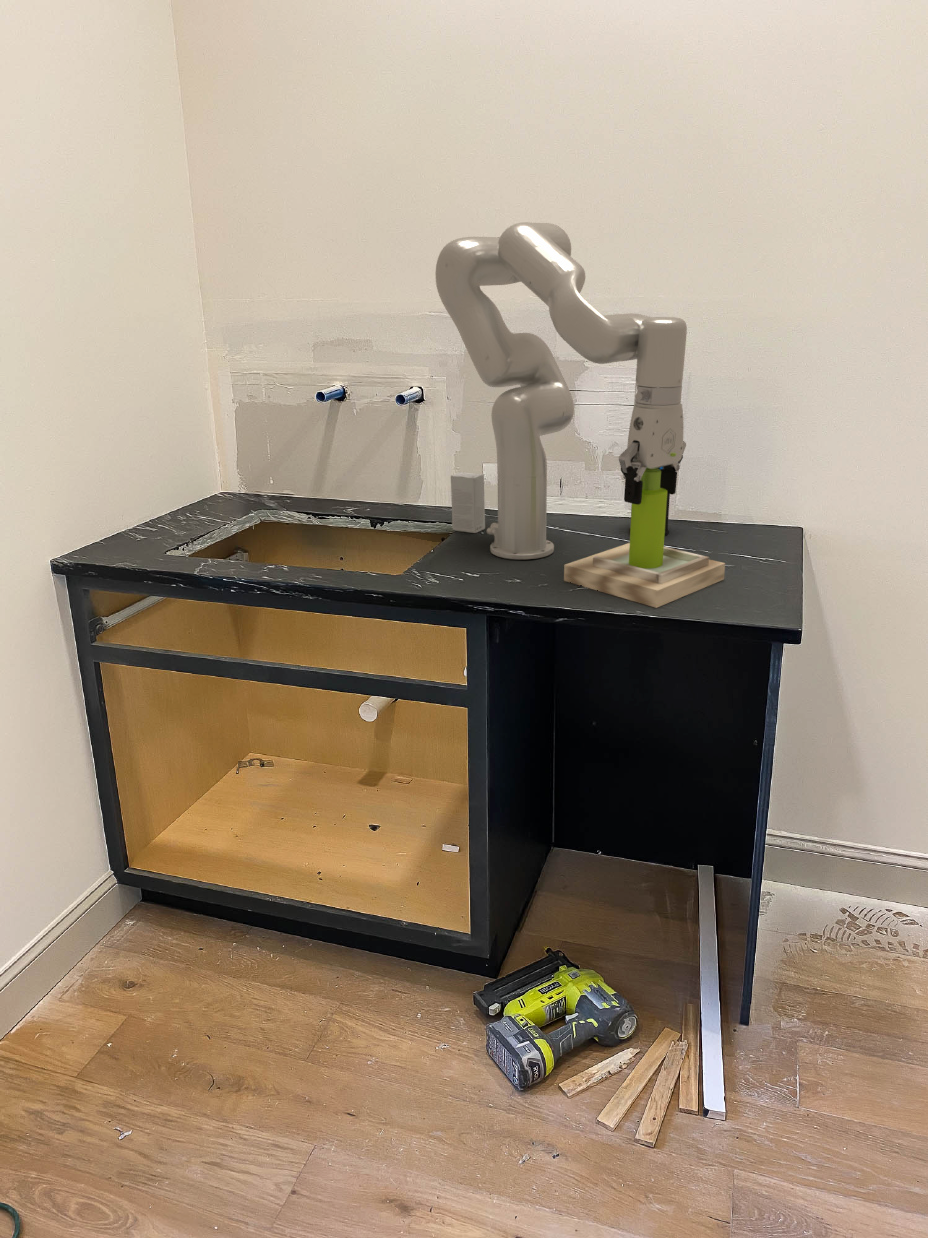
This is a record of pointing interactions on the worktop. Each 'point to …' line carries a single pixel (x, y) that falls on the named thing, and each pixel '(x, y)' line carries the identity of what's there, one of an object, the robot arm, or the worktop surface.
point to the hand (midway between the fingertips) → (649, 497)
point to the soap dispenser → (648, 522)
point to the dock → (645, 575)
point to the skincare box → (468, 502)
